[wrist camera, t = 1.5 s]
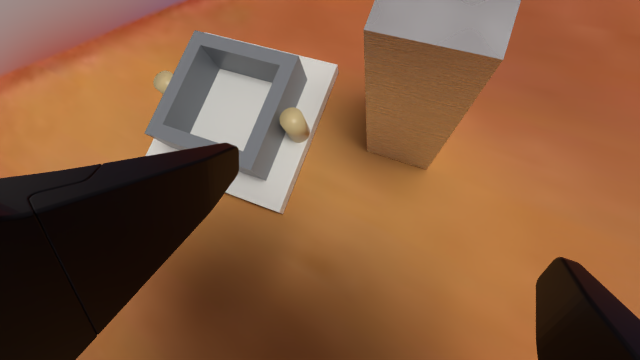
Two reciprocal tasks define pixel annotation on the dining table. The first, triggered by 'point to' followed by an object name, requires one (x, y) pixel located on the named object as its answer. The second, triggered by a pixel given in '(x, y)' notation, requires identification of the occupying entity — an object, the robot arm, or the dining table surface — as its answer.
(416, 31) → the grey metal square bar
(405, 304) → the dining table surface
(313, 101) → the housing plate
